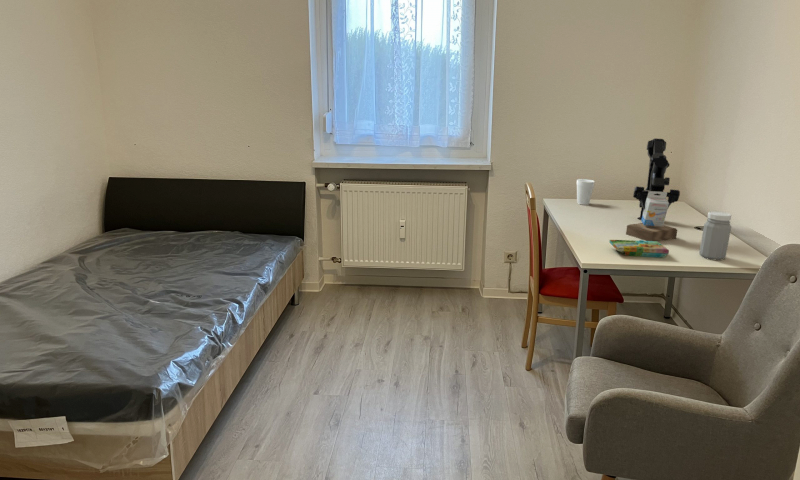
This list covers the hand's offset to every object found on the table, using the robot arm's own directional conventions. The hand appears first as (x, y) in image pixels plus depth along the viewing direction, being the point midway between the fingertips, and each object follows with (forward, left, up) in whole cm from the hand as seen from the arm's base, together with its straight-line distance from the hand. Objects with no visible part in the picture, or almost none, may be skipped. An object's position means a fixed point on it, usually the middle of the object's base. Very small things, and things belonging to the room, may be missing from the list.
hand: (655, 209), depth 269 cm
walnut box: (-1, -1, -13) cm, 13 cm away
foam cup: (-27, -63, -13) cm, 69 cm away
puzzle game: (+28, +14, -13) cm, 33 cm away
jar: (+4, +31, -13) cm, 34 cm away
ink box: (-1, -1, -7) cm, 7 cm away
